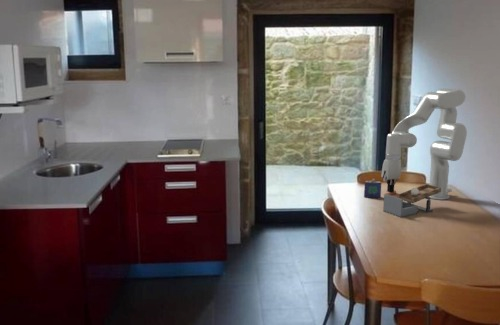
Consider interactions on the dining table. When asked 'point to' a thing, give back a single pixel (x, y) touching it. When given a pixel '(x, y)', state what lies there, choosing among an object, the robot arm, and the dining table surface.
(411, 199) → the brown flat piece
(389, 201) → the cup
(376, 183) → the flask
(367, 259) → the dining table surface
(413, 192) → the ball
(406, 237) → the dining table surface
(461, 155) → the robot arm
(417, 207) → the pivot stand
